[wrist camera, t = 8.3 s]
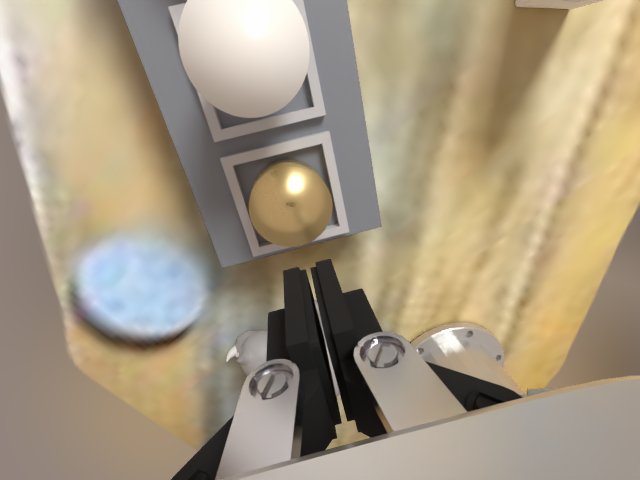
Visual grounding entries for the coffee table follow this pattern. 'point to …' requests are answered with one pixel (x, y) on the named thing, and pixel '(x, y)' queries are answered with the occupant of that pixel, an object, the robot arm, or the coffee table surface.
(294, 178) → the brass knob
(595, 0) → the ink cartridge box
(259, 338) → the round bodied animal figurine
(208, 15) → the white knob middle
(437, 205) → the coffee table surface
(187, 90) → the grey compartment tray
